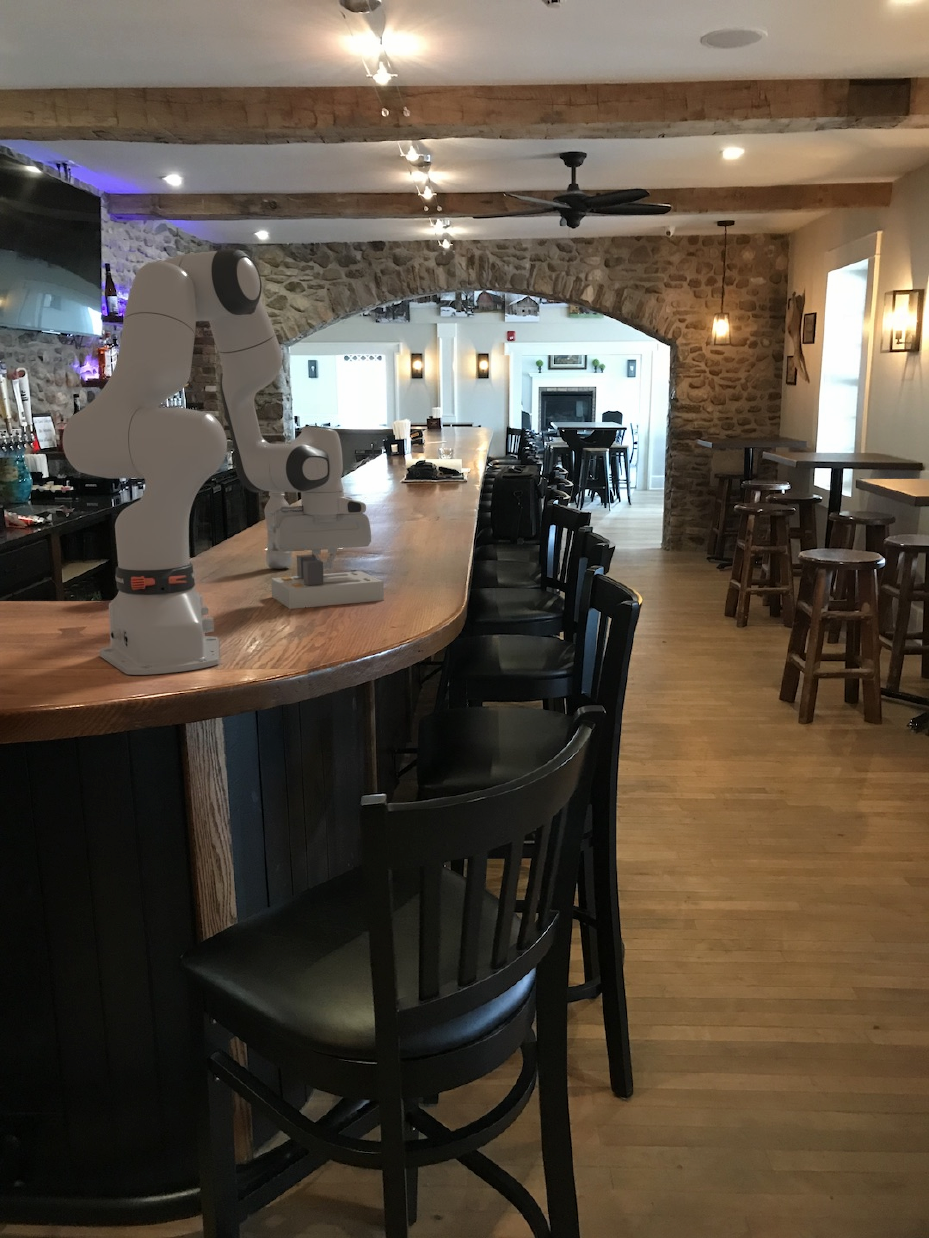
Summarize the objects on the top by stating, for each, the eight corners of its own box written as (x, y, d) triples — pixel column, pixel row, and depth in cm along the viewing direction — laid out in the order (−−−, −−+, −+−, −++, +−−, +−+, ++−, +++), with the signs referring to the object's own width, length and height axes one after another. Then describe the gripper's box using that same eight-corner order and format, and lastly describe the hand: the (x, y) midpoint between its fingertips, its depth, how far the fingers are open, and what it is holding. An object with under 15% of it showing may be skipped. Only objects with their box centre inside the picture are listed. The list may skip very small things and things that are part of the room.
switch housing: (383, 600, 194) (383, 579, 193) (289, 608, 186) (288, 587, 185) (361, 589, 207) (360, 569, 206) (271, 596, 198) (271, 576, 197)
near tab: (323, 584, 189) (322, 562, 188) (308, 585, 188) (307, 563, 187) (318, 581, 192) (318, 559, 191) (303, 582, 191) (302, 561, 190)
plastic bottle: (265, 567, 236) (261, 487, 231) (292, 566, 238) (288, 487, 233) (267, 571, 230) (263, 489, 225) (295, 570, 232) (291, 489, 227)
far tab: (316, 577, 197) (315, 556, 196) (301, 578, 195) (300, 557, 194) (312, 575, 200) (311, 554, 199) (297, 576, 198) (296, 555, 197)
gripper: (277, 508, 189) (280, 575, 192) (373, 504, 197) (374, 568, 200) (270, 505, 194) (273, 571, 197) (363, 501, 203) (364, 564, 206)
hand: (324, 570), depth 199 cm, fingers closed
